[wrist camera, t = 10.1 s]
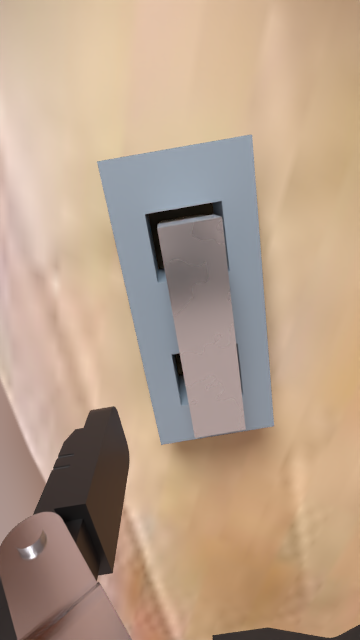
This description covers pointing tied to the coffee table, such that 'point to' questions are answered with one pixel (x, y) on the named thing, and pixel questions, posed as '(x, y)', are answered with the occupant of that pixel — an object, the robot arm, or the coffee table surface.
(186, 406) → the blue-grey slotted block
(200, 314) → the metal block
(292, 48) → the coffee table surface
